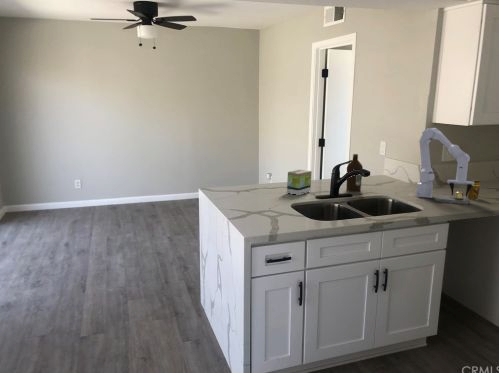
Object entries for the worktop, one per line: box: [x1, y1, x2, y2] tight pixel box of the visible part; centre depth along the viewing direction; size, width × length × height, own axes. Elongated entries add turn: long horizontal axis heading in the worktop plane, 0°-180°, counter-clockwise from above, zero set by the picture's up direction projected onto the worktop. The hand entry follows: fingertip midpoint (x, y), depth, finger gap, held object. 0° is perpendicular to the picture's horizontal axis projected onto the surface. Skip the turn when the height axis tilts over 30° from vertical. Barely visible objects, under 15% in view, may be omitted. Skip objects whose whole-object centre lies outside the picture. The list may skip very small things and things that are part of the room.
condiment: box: [463, 179, 480, 201], centre depth 269 cm, size 7×8×12 cm
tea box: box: [286, 169, 312, 196], centre depth 280 cm, size 15×10×15 cm, turn 143°
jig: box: [435, 194, 470, 206], centre depth 262 cm, size 18×11×2 cm, turn 67°
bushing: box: [455, 191, 464, 200], centre depth 260 cm, size 4×4×6 cm
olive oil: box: [346, 153, 364, 192], centre depth 289 cm, size 11×11×25 cm
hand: (459, 195), depth 260 cm, fingers open, 7 cm apart
